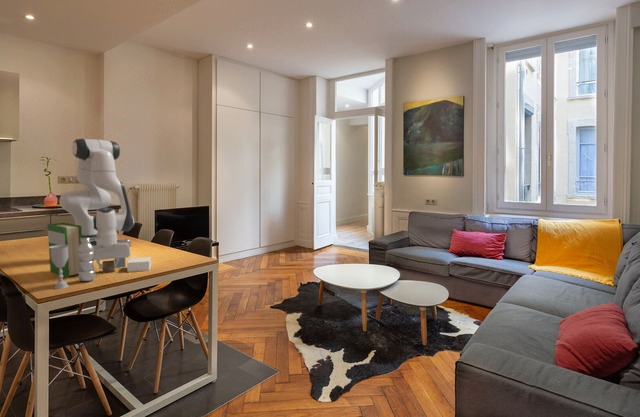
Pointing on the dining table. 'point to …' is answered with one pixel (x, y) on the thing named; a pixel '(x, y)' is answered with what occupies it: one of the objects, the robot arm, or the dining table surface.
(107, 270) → the walnut cube
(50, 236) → the hardback book
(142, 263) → the base block
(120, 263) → the blue-grey cube
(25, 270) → the dining table surface
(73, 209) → the robot arm
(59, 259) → the chalice
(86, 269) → the plastic bottle
